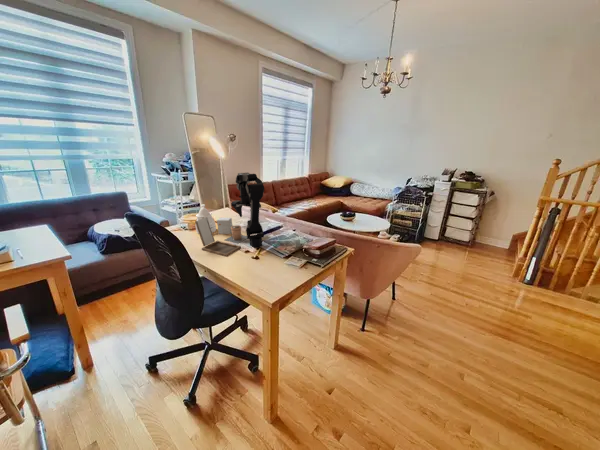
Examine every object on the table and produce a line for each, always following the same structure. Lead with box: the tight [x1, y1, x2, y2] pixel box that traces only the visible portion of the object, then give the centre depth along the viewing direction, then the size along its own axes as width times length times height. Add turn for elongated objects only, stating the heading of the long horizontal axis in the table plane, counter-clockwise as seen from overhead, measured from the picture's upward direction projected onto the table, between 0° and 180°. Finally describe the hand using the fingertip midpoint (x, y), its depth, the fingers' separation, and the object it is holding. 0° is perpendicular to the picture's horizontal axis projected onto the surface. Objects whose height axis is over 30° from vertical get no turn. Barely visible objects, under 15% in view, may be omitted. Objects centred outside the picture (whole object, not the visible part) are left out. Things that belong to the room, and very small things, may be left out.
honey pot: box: [195, 203, 217, 235], centre depth 165 cm, size 13×13×18 cm
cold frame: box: [201, 217, 241, 257], centre depth 137 cm, size 24×12×17 cm, turn 63°
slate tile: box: [224, 234, 248, 244], centre depth 152 cm, size 11×11×1 cm
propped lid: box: [194, 217, 216, 247], centre depth 140 cm, size 15×8×1 cm
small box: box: [216, 217, 233, 235], centre depth 161 cm, size 8×6×10 cm
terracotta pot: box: [231, 225, 242, 240], centre depth 151 cm, size 6×6×8 cm
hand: (247, 217), depth 154 cm, fingers open, 9 cm apart
